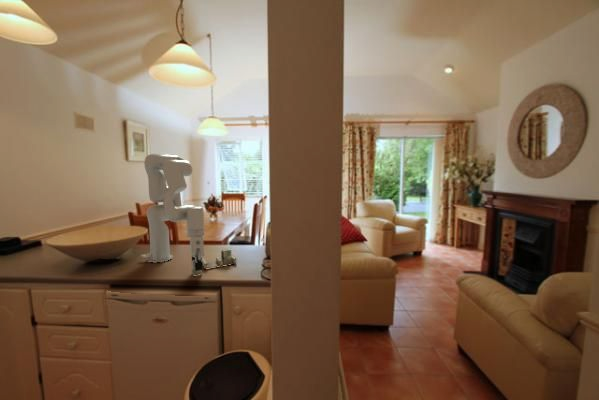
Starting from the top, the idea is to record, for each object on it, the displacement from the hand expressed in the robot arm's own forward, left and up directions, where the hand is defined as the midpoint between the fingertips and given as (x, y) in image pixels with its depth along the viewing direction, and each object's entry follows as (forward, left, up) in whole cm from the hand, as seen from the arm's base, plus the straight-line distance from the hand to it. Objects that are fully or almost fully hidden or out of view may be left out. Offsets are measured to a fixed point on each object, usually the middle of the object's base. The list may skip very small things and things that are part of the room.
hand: (197, 267), depth 119 cm
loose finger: (0, 0, -4) cm, 4 cm away
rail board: (+13, +8, -4) cm, 16 cm away
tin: (-39, +49, -4) cm, 63 cm away
